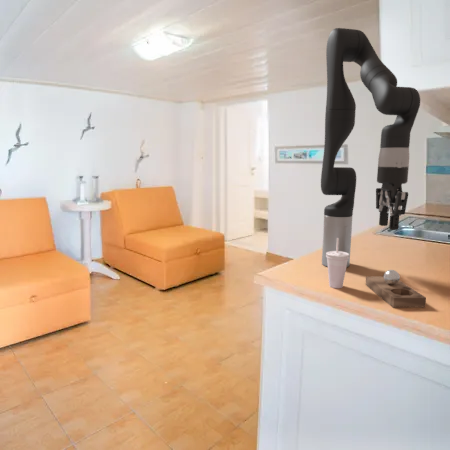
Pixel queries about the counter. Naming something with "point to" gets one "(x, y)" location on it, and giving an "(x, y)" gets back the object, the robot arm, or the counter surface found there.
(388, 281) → the ball
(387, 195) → the robot arm
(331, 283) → the smoothie
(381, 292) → the brown ball holder
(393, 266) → the counter surface
